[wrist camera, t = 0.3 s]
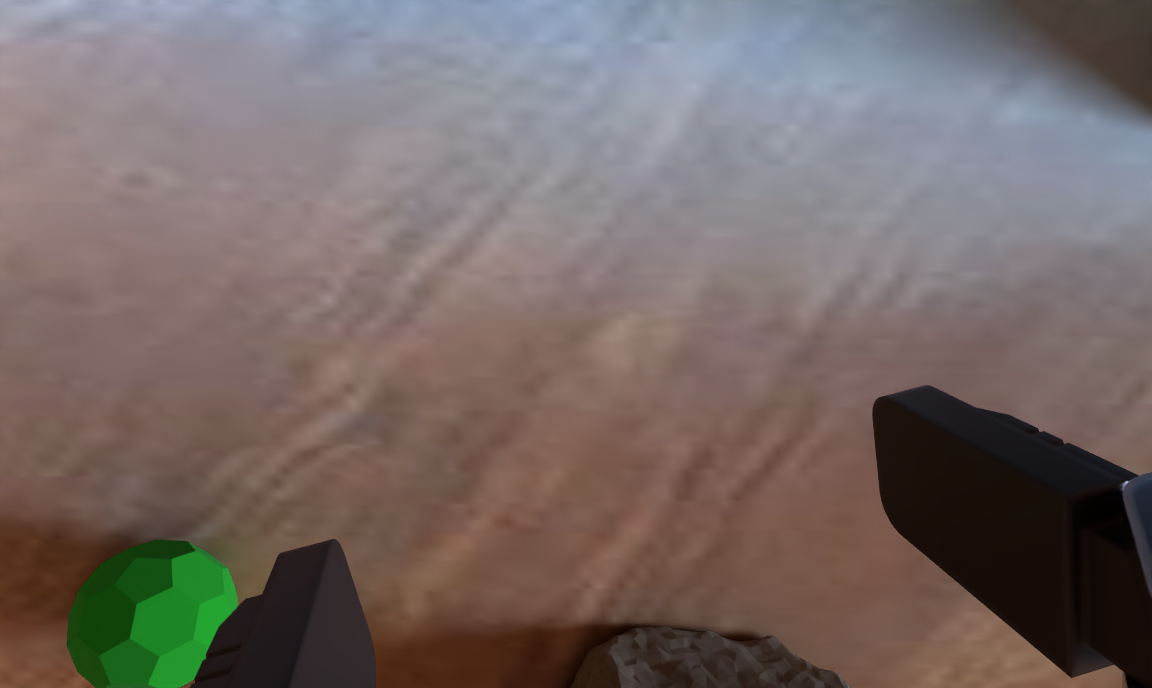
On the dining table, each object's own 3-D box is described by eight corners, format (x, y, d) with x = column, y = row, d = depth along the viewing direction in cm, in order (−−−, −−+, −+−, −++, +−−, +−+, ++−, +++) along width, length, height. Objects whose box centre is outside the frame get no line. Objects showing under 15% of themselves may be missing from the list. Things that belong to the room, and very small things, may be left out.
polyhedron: (160, 660, 28) (107, 758, 24) (75, 561, 27) (0, 646, 22) (279, 594, 29) (248, 680, 24) (200, 492, 27) (151, 563, 22)
